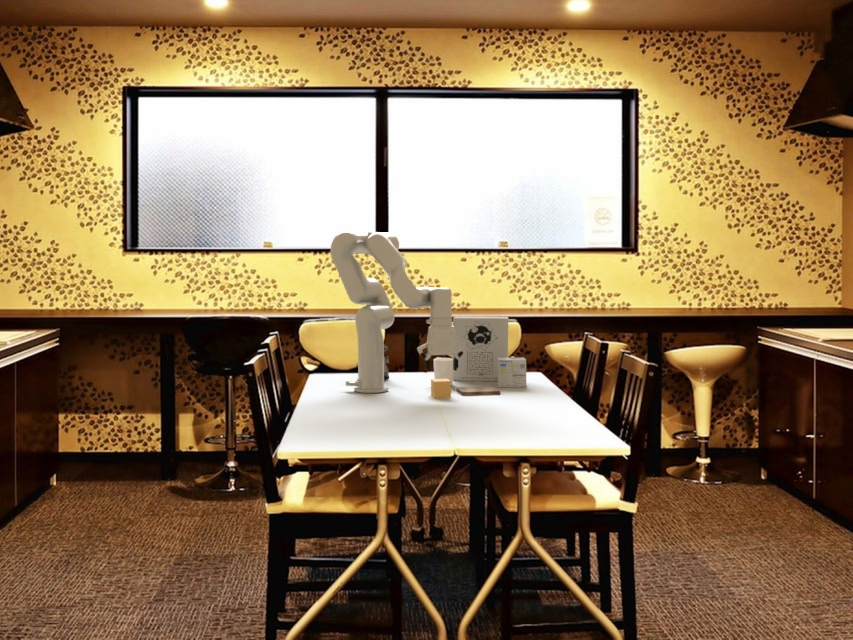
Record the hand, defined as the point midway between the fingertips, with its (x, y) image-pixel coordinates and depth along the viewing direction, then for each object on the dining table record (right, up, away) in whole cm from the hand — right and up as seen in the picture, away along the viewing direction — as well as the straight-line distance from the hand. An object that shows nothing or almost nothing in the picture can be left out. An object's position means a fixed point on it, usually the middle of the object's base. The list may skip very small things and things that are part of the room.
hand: (441, 370), depth 327 cm
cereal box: (+16, -6, +41) cm, 45 cm away
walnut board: (+13, -9, +10) cm, 19 cm away
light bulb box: (+27, -8, +25) cm, 37 cm away
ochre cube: (0, -9, +1) cm, 9 cm away
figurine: (-26, -6, +41) cm, 49 cm away
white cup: (+1, -7, +27) cm, 28 cm away
